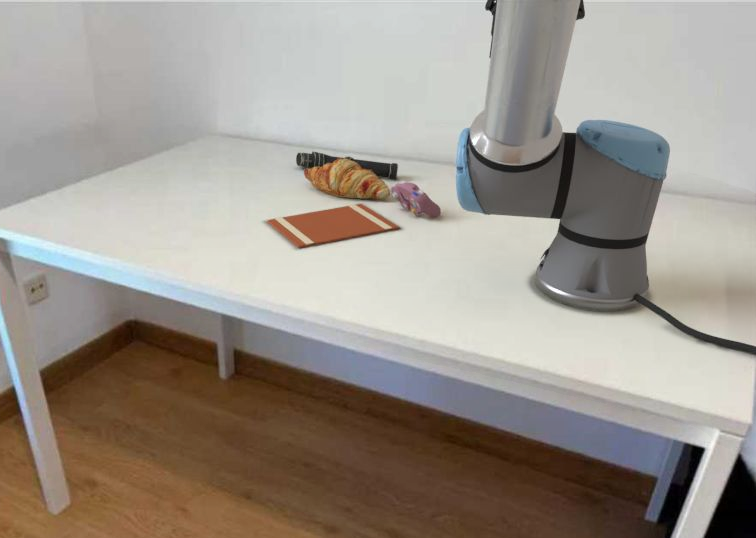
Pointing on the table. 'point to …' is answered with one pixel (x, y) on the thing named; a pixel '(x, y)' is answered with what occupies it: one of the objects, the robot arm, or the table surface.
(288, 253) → the table surface
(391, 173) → the twine-wrapped black handle
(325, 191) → the croissant
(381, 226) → the tea towel
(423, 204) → the video game controller
